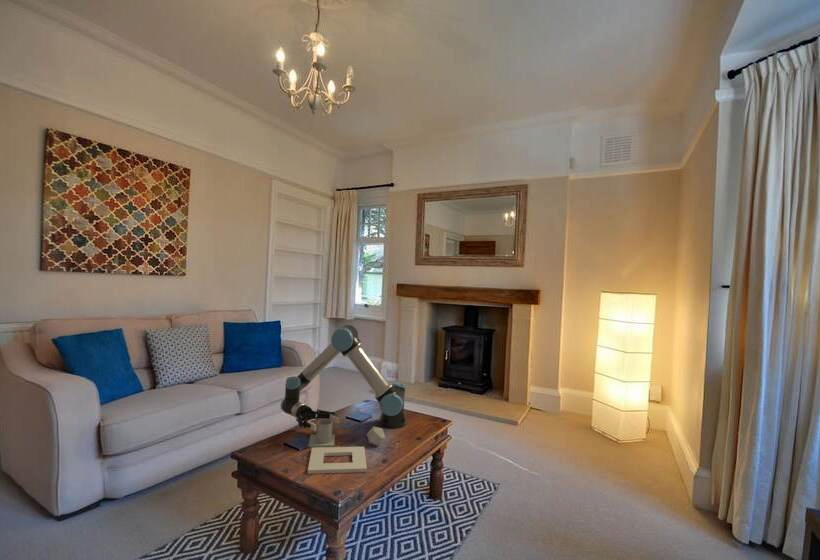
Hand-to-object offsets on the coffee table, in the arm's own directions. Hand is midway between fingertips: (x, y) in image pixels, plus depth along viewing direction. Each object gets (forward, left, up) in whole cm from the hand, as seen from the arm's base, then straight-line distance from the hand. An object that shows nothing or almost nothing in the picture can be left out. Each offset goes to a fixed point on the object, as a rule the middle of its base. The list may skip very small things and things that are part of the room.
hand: (327, 424), depth 177 cm
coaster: (+2, -3, -9) cm, 10 cm away
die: (-24, +1, -9) cm, 26 cm away
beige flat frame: (-6, +17, -9) cm, 21 cm away
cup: (+2, -3, -9) cm, 9 cm away
